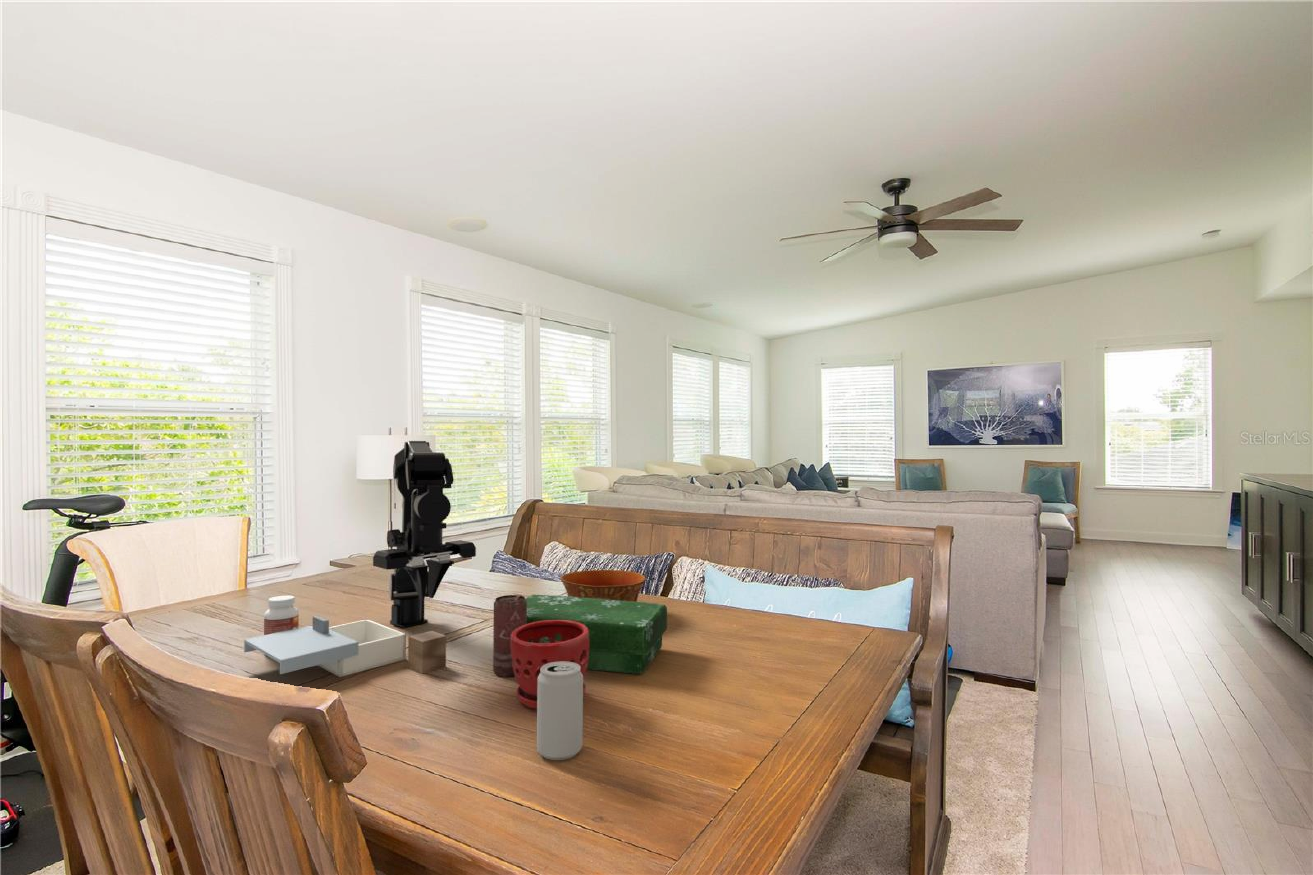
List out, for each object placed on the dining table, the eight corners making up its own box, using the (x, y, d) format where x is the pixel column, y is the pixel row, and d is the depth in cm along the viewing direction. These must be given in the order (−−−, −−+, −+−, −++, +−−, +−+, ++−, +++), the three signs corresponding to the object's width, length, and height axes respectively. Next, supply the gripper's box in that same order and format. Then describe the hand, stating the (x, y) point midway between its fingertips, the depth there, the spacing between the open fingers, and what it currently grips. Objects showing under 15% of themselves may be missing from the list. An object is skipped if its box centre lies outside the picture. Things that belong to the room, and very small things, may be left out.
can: (532, 667, 126) (533, 595, 126) (515, 679, 120) (515, 603, 120) (505, 664, 128) (505, 592, 128) (486, 675, 122) (487, 600, 122)
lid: (318, 635, 134) (318, 611, 134) (358, 654, 123) (358, 628, 123) (244, 652, 124) (244, 626, 124) (280, 674, 113) (280, 645, 113)
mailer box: (367, 642, 141) (367, 619, 141) (405, 659, 131) (405, 634, 131) (303, 657, 131) (303, 632, 131) (339, 677, 121) (339, 650, 121)
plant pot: (520, 685, 118) (520, 618, 118) (593, 686, 117) (593, 619, 117) (500, 716, 105) (501, 641, 105) (583, 717, 104) (583, 642, 104)
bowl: (598, 601, 178) (598, 564, 178) (662, 614, 166) (662, 574, 166) (542, 618, 161) (542, 577, 161) (608, 634, 149) (609, 590, 149)
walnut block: (431, 661, 130) (431, 630, 130) (445, 666, 127) (446, 635, 127) (408, 667, 126) (408, 636, 126) (422, 673, 123) (422, 641, 123)
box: (668, 649, 139) (669, 602, 139) (645, 680, 121) (645, 626, 121) (531, 636, 147) (531, 591, 147) (490, 663, 129) (491, 612, 129)
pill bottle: (299, 653, 134) (300, 599, 134) (264, 659, 130) (265, 603, 130) (296, 645, 139) (297, 593, 139) (262, 650, 135) (263, 596, 135)
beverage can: (538, 742, 96) (539, 660, 96) (583, 740, 96) (583, 659, 96) (534, 764, 90) (535, 675, 90) (581, 762, 90) (582, 674, 90)
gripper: (447, 510, 139) (446, 584, 139) (359, 518, 125) (358, 600, 125) (477, 514, 132) (477, 592, 132) (388, 523, 117) (387, 611, 117)
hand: (426, 598), depth 127 cm, fingers closed
